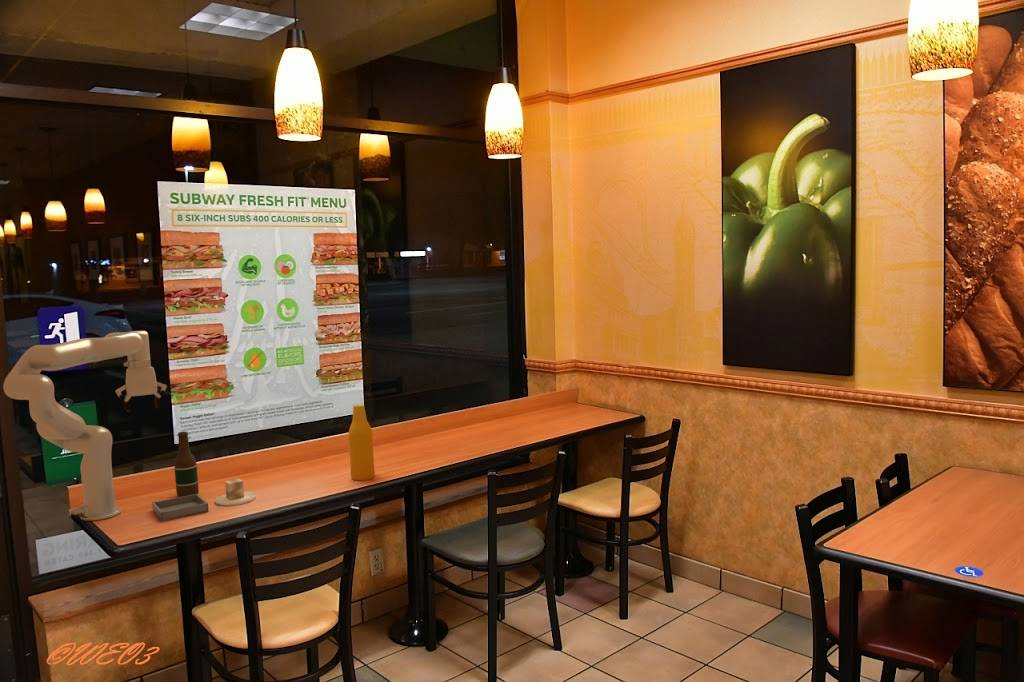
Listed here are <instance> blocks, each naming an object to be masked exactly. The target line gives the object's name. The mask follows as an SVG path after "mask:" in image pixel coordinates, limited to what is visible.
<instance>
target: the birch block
mask: <svg viewBox="0 0 1024 682" xmlns="http://www.w3.org/2000/svg"><path fill="white" fill-rule="evenodd" d="M224 482H225V483H224V484H225V486H224V487H225V494H226V497H227V498H228V499H229V500H234V499H239V498H244V492H245V490H244V481H243V480H242V479H240V478H235V479H230V480H224Z"/></svg>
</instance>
